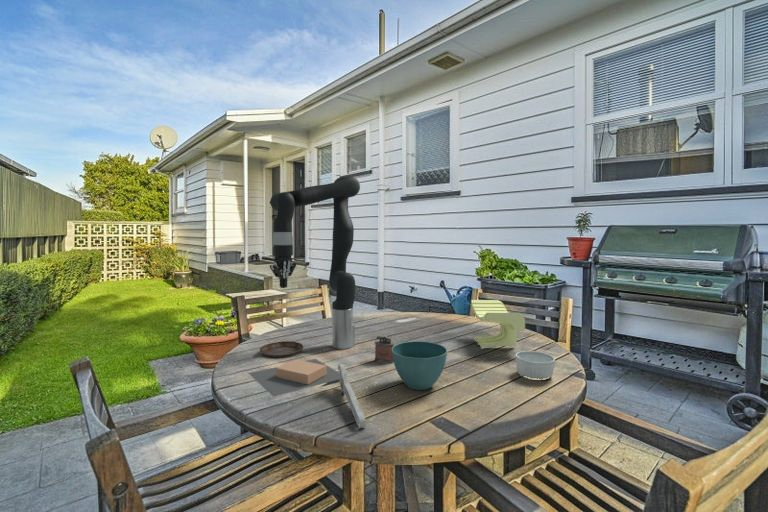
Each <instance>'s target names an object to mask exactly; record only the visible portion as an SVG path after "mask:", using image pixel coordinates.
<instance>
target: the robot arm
mask: <svg viewBox="0 0 768 512" xmlns="http://www.w3.org/2000/svg"><path fill="white" fill-rule="evenodd" d="M360 189H361V183H360V182H359V180H358V179H357V177H355V176H351V175H346V176H342V177H341V176H340V177H338V178H336V179H335V180H334V181H333V182H330V183H325V184H320V185H319V184H318V185H310V186H305V187H302V188H297V189H294V190H290V191H282V192H278V193H274V194H273V195H272V196H271V197H270V200H269V201H270V202H269V203H270V207H271V208H272V209H274V210H275V211H277V213H276V217H275V218H274V219H273V226H272V228H273V235H272V254H273V256H274V260H273V264H270V265H269V269H270V270H271V272H272V274H273V275H274V276H275V278H279V288H281V289H285V288H288V278H289V277H291V276H292V275H293V272H294V270H295V269H296V267H297V263H296V262H293V258H292V256H293V255H294V237H293V219H294V218H293V217H294V213H295V208H296V207H305V206H309V205H313V204H316V203H321V202H324V201H327V200H331V199H332V202H333V220H332V221H333V222H332V223H333V225H332V244H331V245H332V249H331V264H330V265H331V266H330V270H329V271H330V273H329V279H328V282H329V287H330V289H331V290H332V291H333V292H336V296H335V297H336V298H335V300H334V301H332V304H331V311H332V312H331V315H332V316H331V317H332V319H331V322H332V324H331V326H332V327H331V328H332V329H331V330H332V332H331V333H332V335H331V338H332V339H331V340H332V348H334V349H337V350H346V349H351V348H353V347H354V346H356V324H354V304H355V300H356V280H355V277H354V275H353V274H351V273H349V272H347V261H348V256H349V255H350V252H351V250H352V248H353V245H354V233H355V231H354V229H355V228H354V224H353V221H352V218H351V216H350V213H349V198H353V197H355V196H357V195H358V194H359V192H360Z"/></svg>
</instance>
